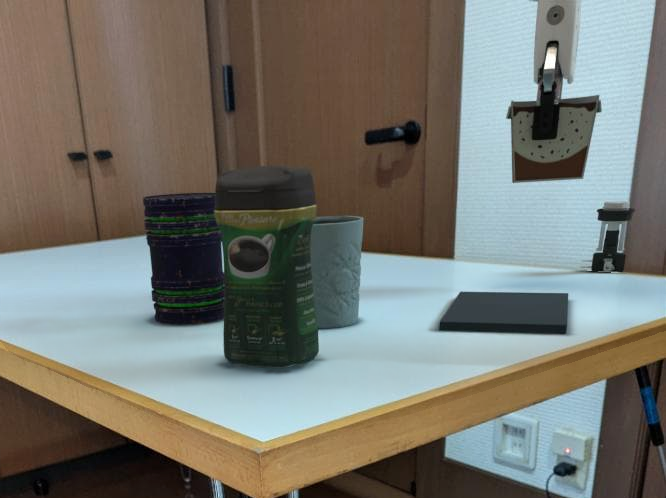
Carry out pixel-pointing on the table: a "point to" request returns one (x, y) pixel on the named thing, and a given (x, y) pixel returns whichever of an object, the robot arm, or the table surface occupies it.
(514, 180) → the food container
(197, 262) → the storage jar
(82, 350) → the table surface
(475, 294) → the mat
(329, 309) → the grey embossed cup
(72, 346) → the table surface
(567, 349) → the table surface
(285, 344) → the coffee jar
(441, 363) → the table surface
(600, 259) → the black and grey device
